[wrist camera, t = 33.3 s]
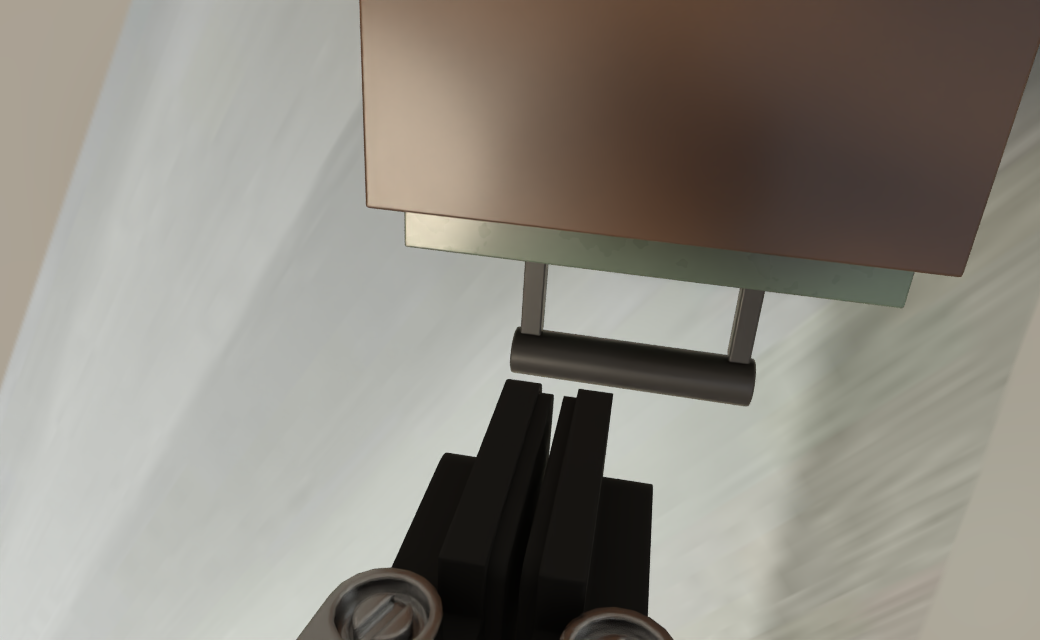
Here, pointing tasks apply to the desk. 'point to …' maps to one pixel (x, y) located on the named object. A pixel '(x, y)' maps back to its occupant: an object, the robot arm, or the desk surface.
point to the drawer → (645, 362)
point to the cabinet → (701, 119)
